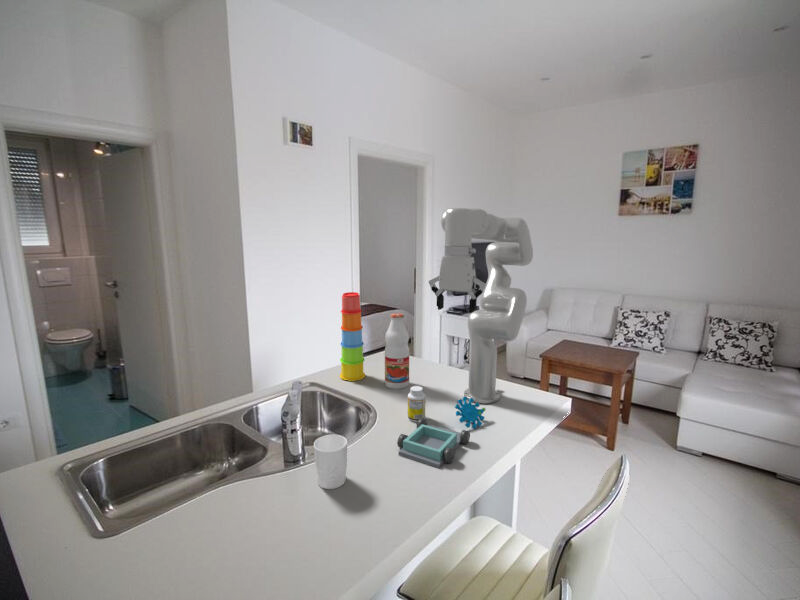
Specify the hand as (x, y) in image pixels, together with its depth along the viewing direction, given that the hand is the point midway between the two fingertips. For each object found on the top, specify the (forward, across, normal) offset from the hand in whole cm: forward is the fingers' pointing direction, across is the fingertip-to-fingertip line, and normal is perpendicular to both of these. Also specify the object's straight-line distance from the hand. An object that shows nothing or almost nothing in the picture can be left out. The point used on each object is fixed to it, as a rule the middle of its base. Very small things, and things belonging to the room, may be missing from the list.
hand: (456, 310), depth 121 cm
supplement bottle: (+36, +12, +2) cm, 38 cm away
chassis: (+36, +1, +14) cm, 39 cm away
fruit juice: (+36, +30, -21) cm, 51 cm away
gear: (+36, -5, -3) cm, 37 cm away
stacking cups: (+36, +50, -21) cm, 65 cm away
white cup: (+37, +17, +40) cm, 57 cm away
